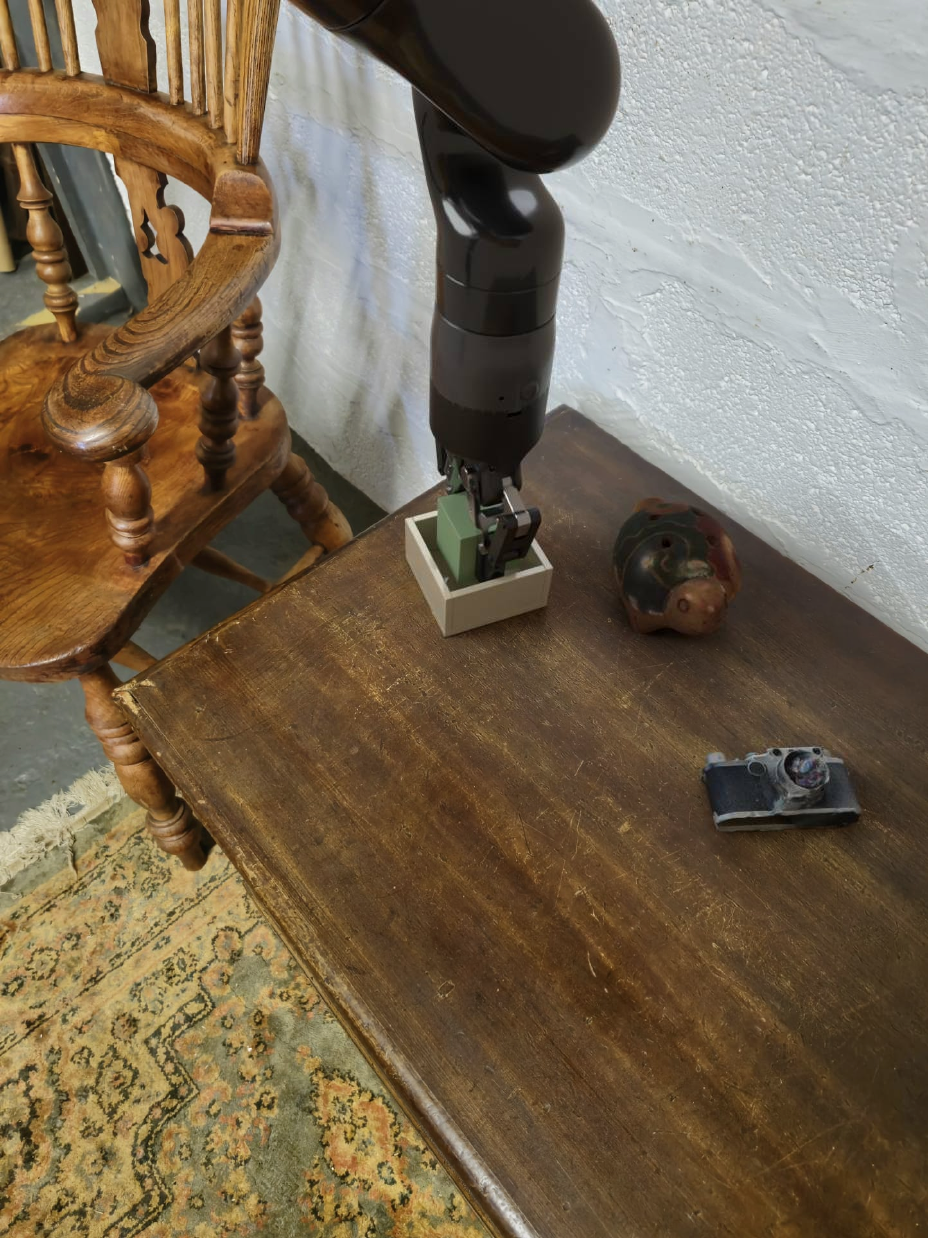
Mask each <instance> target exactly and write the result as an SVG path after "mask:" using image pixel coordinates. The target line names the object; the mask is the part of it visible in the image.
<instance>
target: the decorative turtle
mask: <svg viewBox="0 0 928 1238" xmlns="http://www.w3.org/2000/svg"><path fill="white" fill-rule="evenodd" d="M611 568H612V575H613V579H614V582H615V585H616V588H617V589H618V593H619V596H620V598H621V600H622V602H623V604H624V609H625V611H626V613H627V616H628V619H629V621H630V624H631V627H632V628H633V630H634V631H635V632H637V633H639V634H648V633H651V632H654V631H656V630H659V629H664V628H668V629H672V630H674V631H677V632H678V633H682V634H685V635H687V636H688V635H689V636H706V635H708V634H712V633H714V632H716V631H718V629H720V626H721V625H722V623H723V621H724V619H725V616H726V613H727V610H728V607H729V606H730V605H731V604H732V602H733V601H734V600H735V598H736V597H737V595H738V594H739V592H740V589H741V586H742V568H741V562H740V559H739V555H738V552H737V550H736V547H735V545H734V542H733V539H732V538H731V537H730V535H729V533H727V531H726V530H725V528H724V527H723V526H722V525H721V524H720V522H718V521H717V520H716V519H715V518H714V517H713V516H712V515H710V514H709V513H708V512H706V511H705V510H703V509H701V508H698V507H696V506H693V505H690V504H685V503H681V502H680V503H679V502H666V501H665V499H663V498H660V497H654V496H653V497H647V498H644V499H641V500H640V501H638V502H637V503H636V504H635V505H634V508H633V511H632V515H631V516H629V517H628V518H627V519H626V520H625V521H624V523H623V524H622V525H621V527H620V528H619V530H618V532H617V534H616V537H615V540H614V542H613V547H612V556H611Z"/></svg>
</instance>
